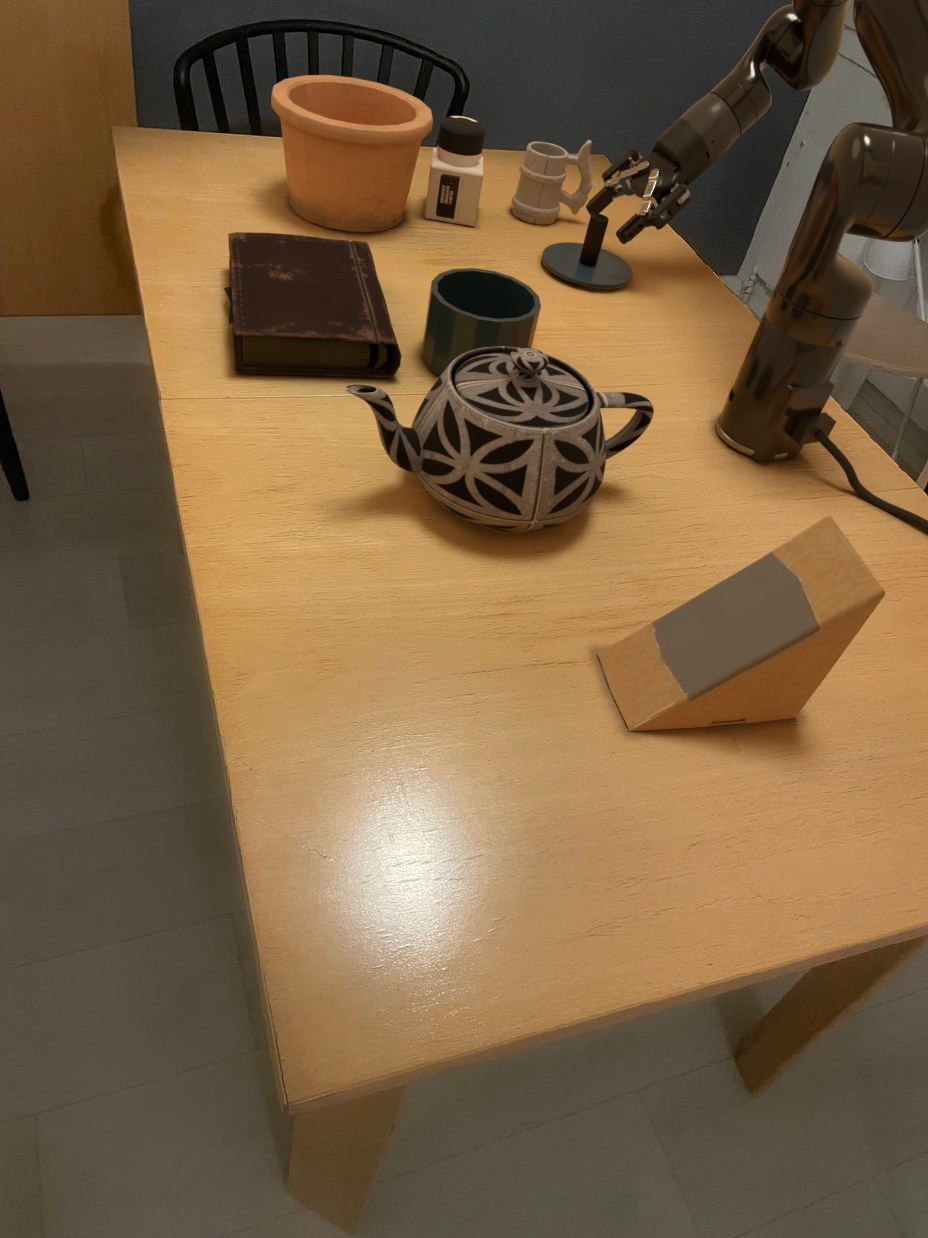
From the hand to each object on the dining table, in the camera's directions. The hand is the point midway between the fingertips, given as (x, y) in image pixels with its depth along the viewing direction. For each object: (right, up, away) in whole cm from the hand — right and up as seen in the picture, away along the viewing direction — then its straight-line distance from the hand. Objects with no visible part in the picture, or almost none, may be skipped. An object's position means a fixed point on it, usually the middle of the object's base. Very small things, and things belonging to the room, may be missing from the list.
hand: (603, 225), depth 123 cm
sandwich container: (0, -61, -50) cm, 79 cm away
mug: (-7, +8, +16) cm, 19 cm away
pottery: (-37, +5, +6) cm, 38 cm away
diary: (-39, -20, -19) cm, 47 cm away
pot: (-19, -25, -19) cm, 36 cm away
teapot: (-17, -43, -36) cm, 59 cm away
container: (-22, +7, +11) cm, 25 cm away
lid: (-2, -4, +4) cm, 6 cm away
